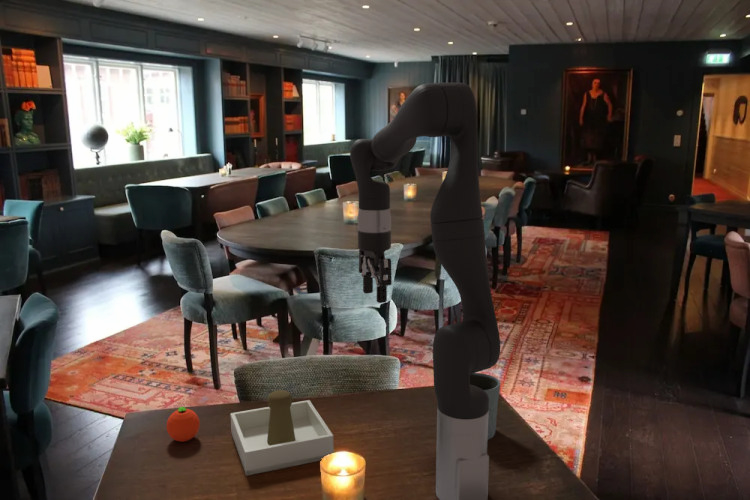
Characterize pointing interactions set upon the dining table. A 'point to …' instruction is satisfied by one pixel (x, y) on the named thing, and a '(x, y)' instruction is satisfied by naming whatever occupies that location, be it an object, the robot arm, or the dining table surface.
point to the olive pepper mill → (280, 418)
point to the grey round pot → (492, 390)
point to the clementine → (183, 424)
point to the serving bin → (262, 457)
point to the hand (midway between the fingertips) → (374, 297)
